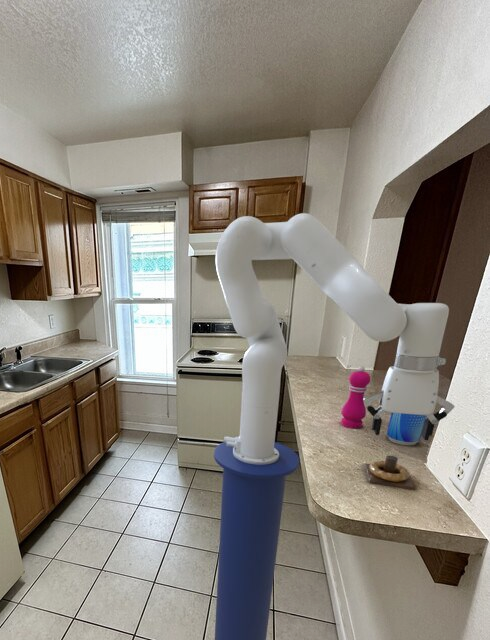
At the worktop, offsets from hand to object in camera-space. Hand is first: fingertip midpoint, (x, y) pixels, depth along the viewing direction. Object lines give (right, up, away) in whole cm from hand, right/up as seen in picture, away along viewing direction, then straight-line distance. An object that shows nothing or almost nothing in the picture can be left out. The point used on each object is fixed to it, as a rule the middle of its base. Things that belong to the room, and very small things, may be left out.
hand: (399, 435), depth 82 cm
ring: (0, -9, +4) cm, 10 cm away
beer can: (+17, -3, +24) cm, 29 cm away
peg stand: (0, -10, +4) cm, 11 cm away
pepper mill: (+8, +1, +36) cm, 37 cm away
